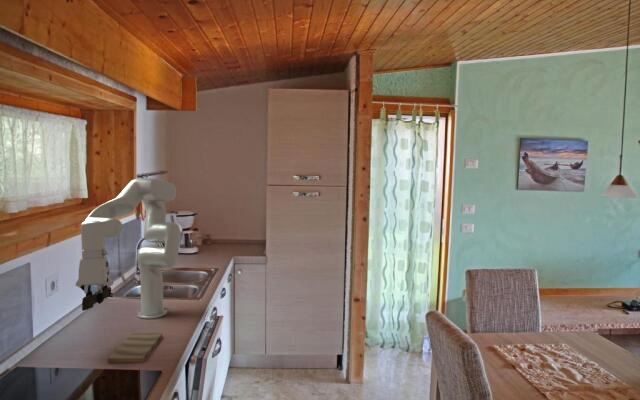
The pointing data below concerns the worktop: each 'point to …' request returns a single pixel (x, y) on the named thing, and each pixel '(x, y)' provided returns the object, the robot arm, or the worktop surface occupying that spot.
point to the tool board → (135, 348)
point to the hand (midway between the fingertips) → (95, 302)
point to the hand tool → (93, 299)
